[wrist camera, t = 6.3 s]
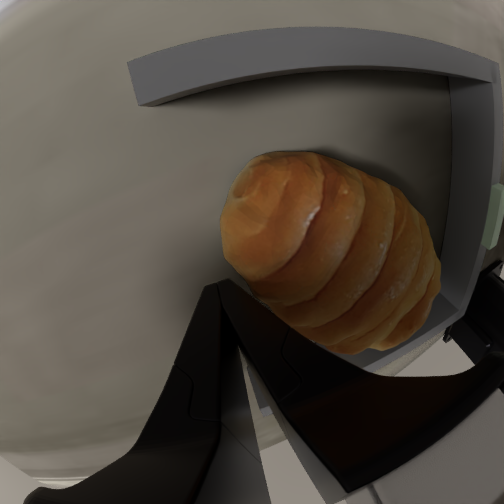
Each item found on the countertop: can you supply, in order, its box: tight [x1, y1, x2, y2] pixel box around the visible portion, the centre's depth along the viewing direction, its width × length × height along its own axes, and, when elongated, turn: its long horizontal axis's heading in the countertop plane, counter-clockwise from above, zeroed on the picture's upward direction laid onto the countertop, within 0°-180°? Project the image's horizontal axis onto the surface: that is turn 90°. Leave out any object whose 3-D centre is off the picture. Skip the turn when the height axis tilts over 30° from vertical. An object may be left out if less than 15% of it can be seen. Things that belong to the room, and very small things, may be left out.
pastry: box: [220, 151, 441, 355], centre depth 9 cm, size 9×7×4 cm
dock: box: [127, 27, 504, 416], centre depth 9 cm, size 13×14×3 cm
